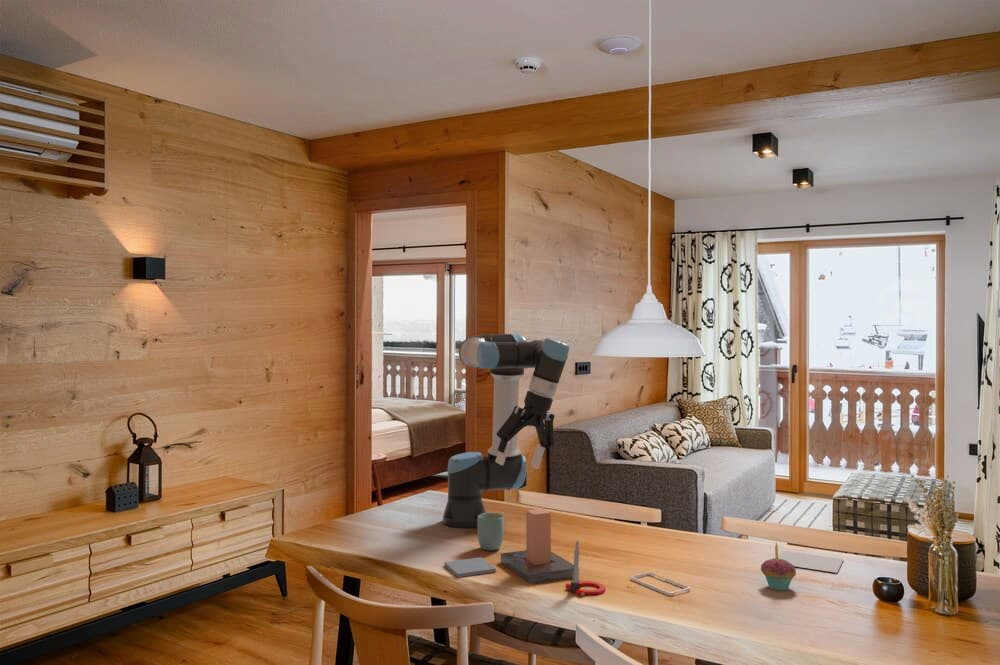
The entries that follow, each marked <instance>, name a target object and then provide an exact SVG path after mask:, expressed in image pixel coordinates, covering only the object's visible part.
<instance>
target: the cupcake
mask: <svg viewBox="0 0 1000 665" xmlns="http://www.w3.org/2000/svg"><path fill="white" fill-rule="evenodd" d="M778 547H779V545H778V543H777V542H775V545H774V552H775V554H774V555H775V557H774V558H771V559H767V560H765V561H764V562H762V564H761V565H760V571H761V572H762V574H763V575H764V576H765V579H766V581H767V585H768V588H770V589H771V590H775V591H787V590H789V588H790V585H791V582H792V580H793V578H795V576H796V575H797V569H796V567H795V566H793V565H792V564H791V563H789V562H787V561H786V560H783V559H779V558H778V555H779V548H778Z"/></svg>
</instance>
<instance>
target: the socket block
mask: <svg viewBox="0 0 1000 665" xmlns="http://www.w3.org/2000/svg"><path fill="white" fill-rule="evenodd" d="M501 562H502V564H503V565H504V566H505V565H506V567H507V568H508V567H509V568H508V569H510V570H511V569H512V570H513V572H514V573H515V572H516V573H515V574H517V575H518V576H519V575H520V577H521V578H522V577H523V578H522V579H523V580H525V579H526V580H527V582H528V581H529V582H530V583H529V582H528V583H529V584H531V583H535V584H540V583H539V582H542V583H547V582H546V581H548V582H555V581H560V580H561V581H562V580H567V579H572V576H573V572H574V563H572V562H571V561H569V560H567V559H565V558H563V557H562V556H560V555H559V554H557V553H555V552H553V551H551V563H547V564H540V565H531V564H530V563H528V562H526V550H525V549H524V550H517V551H510V552H509V551H508V552H502V553H500V563H501ZM512 570H511V571H512ZM578 572H579V573H580V566H579V567H578ZM526 580H525V581H526ZM554 580H555V581H554Z"/></svg>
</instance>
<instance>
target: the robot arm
mask: <svg viewBox="0 0 1000 665" xmlns="http://www.w3.org/2000/svg"><path fill="white" fill-rule="evenodd" d="M569 351H570V345H569V344H568V343H566V342H563V341H560V340H557V339H553V338H551V337H546V338H545V339H544V340H539V339H533V340H531V341H527V339H526V338H525V336H524V335H522V334H515V333H497V334H496V333H494V334H476V335H471V336H469V337H467V338H466V339H464V340H463V341H462V342H461V343H460V345H459V348H458V356H459V359H460V361H461V362H462V364H464V365H465V366H467V367H471V368H474V369H480V370H481V369H484V370H485V369H486V370H489V374H490V375H491V376H492V377H493V403H492V404H493V410H492V412H493V413H492V441H491V442H492V443H491V444H492V445H491V446H490V447H489V448H488V449H487V456H483V454H482V452H479V451H469V452H463V453H458V454H454V455H453V456H451V457H450V458H449V459H448V462H447V471H446V473H447V502H446V505H445V508H444V511H443V514H442V515H443V516H442V524H443V525H445V526H448V527H453V528H460V529H461V528H463V529H464V528H466V529H467V528H477V518H478V515H480V514H483V513H487V511H486V508H485V506H484V502H483V495H482V494H483V492H485V491H486V492H487V491H503V490H506V491H510V490H515V489H520V488H521V486H523V485H524V483H525V479H526V476H527V459H526V457H525V455H523V454H522V450H521V449H520V448H519V447H518V433H519V432H520V431H521V430H523V429H524V428H525V427H527V426H528V427H534V428H535V430H536V434H537V437H538V440H539V444H537V445H536V447H535V451H534V454H533V456H532V460H531V462H530V467H532V468H533V469H535V470H539V469H540V465H541V463H542V460H543V458H544V457H545V453H546V450H547V449H548V450H549V449H550V448H551V447H553V446H554V445H555V444H554V443H555V441H554V439H555V438H554V420H555V414H553V413H552V412H550V410H551V407H552V404H553V401H554V400H553V397H555V396H556V392H557V389H558V385H559V383H560V381H561V380H560V379H561V377H562V373H563V371H564V368H565V365H566V362H567V360H568V357H569V356H568V355H569V353H570V352H569ZM525 369H534V370H533V373H532V376H531V379H530V382H529V384H528V389H529V390H527V392H526V394H525V397H524V399H523V400H524V401H523V403H524V407H520V406H519V401H520V400H519V398H520V397H519V395H520V391H519V390H520V379H521V378H522V377H523V376H524V373H525Z"/></svg>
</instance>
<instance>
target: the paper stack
mask: <svg viewBox="0 0 1000 665" xmlns="http://www.w3.org/2000/svg"><path fill="white" fill-rule="evenodd" d="M778 558H779V559H783V560H786V561H787V562H789V563H791V564H792V565H793V566H794V567H795V568H796V567H797V568H802V569H803V568H804V569H809V570H816V571H823V572H828V573H829V572H831V573H836V574H837V573H838V572H839V570H840V568H841V566H842V564H843V561H844V560H845V559H844V558H838V557H832V556H831V557H830V556H824V555H817V554H810V553H801V552H795V551H788V550H781V552H780V553H778Z"/></svg>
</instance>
